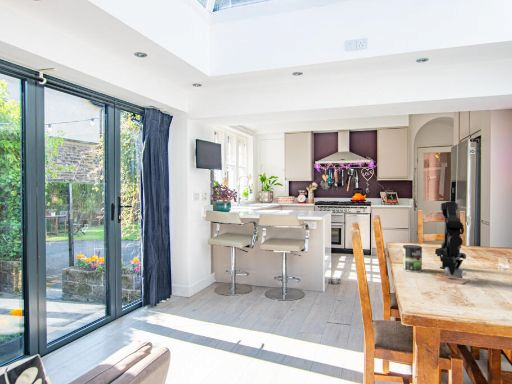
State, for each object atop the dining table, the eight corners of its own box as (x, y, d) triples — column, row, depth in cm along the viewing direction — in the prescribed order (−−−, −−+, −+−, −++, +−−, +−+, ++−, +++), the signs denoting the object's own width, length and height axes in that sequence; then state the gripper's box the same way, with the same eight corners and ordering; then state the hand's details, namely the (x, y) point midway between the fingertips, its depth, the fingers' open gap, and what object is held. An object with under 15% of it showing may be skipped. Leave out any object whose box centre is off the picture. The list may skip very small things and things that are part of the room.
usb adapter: (443, 275, 193) (443, 267, 193) (446, 274, 195) (446, 266, 195) (464, 279, 185) (464, 271, 185) (467, 277, 188) (467, 269, 188)
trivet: (445, 276, 199) (445, 275, 199) (470, 280, 190) (470, 279, 190) (436, 280, 191) (436, 278, 191) (461, 284, 182) (461, 283, 182)
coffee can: (425, 271, 211) (426, 247, 210) (410, 272, 208) (410, 248, 208) (413, 267, 221) (413, 244, 220) (399, 268, 218) (399, 245, 218)
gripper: (444, 240, 203) (444, 268, 203) (430, 244, 190) (429, 274, 191) (466, 242, 195) (466, 272, 195) (452, 246, 182) (452, 278, 182)
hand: (453, 273), depth 191 cm, fingers closed on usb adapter, 4 cm apart
